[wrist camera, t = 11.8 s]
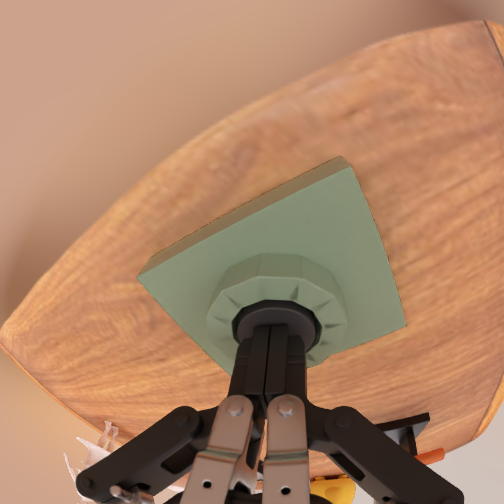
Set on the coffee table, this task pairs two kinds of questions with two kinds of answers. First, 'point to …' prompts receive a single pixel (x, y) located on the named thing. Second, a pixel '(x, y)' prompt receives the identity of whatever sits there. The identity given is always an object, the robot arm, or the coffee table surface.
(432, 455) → the switch
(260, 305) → the button
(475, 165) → the coffee table surface
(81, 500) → the figurine
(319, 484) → the teapot
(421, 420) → the switch bracket
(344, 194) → the box
